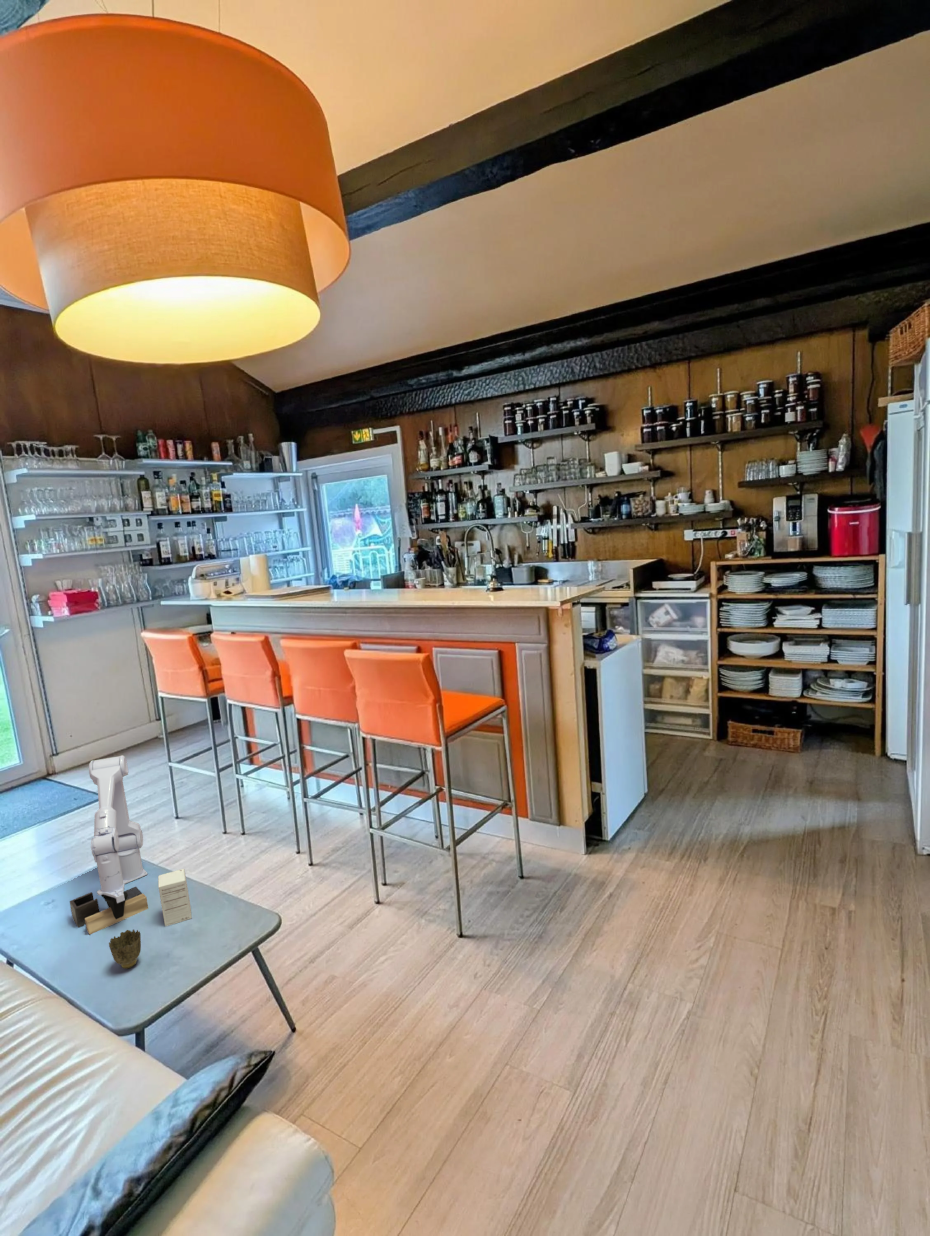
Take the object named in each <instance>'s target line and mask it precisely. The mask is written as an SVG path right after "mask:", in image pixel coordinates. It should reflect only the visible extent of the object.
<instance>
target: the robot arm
mask: <svg viewBox="0 0 930 1236" xmlns="http://www.w3.org/2000/svg"><path fill="white" fill-rule="evenodd" d="M88 774H89V778H90V779H91V780H92V782H93V784H94V785H96V787H97V794H98V795H97V796H98V810H97V811H95V813H94V824H93V825H94V826H93V827H94V829H93V837H92V838H91V841H90V851H91V855H92V857H93V859H94V863H96V867H97V871H98V877H99V883H100V889H98V890H97V891H96V894H97V896H101V898H103V899H104V901H105V902H106V905H107V908H110V907H111V910H112V912H113V915H114V917H115V919H118V918H120V917H123V915H124V906H125V901H126V899H127V897H128V894H127V892H124V891H125V885H126V884H128V883H131V882H133V881H135V880H137V879H138V880H139V879H140V878H143V877H146V876H147V875H148V872H147V871H146V870H145V869H144V868H143V867H144V866H143V863H142V856H141V851H140V849H141V848H142V847H143V845H144V834H143V830H142V828H141V824H139V823H138V822H135V821H133V820H130V815H129V809H128V803H127V798H126V793H125V792H126V791H125V787H124V782H123V781H124V780H123V779H124V777H125V776H126V777H127V776H128V775H129V767H128V761H127V757H126V756H125V755H124V754H122V755H119V756H113V757H107V758H101V759H96V760H94V759H93V760H91V761H90V762H89V764H88ZM123 892H124V893H123Z"/></svg>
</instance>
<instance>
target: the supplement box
mask: <svg viewBox="0 0 930 1236" xmlns="http://www.w3.org/2000/svg"><path fill="white" fill-rule="evenodd" d="M157 879H158V880H157V885H158V892H159V898H160V904H161V909H162V917H163V922H164V927H169V926H172V925H175V924H178V923H182V922H185V921H188V920H191V919H192V906H191V902H190V895H189V890H188V889H189V888H188V883H187V877H186V870H185V868H181V869H177V870H173V871H169V872H167V873H163V874H159V875H158V877H157Z"/></svg>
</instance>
